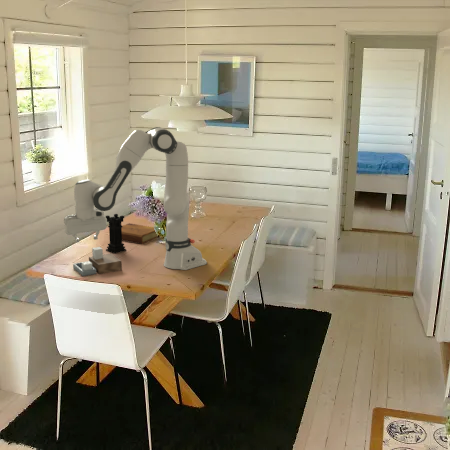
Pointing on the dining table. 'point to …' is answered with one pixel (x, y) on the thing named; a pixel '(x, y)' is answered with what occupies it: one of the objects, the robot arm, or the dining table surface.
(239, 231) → the dining table surface
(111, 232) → the chess piece
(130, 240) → the diary
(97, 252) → the white block
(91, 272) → the tray
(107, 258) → the square brown board
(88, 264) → the off-white small block
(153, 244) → the dining table surface
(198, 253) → the robot arm
